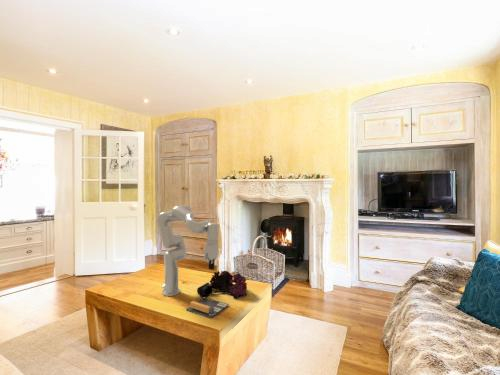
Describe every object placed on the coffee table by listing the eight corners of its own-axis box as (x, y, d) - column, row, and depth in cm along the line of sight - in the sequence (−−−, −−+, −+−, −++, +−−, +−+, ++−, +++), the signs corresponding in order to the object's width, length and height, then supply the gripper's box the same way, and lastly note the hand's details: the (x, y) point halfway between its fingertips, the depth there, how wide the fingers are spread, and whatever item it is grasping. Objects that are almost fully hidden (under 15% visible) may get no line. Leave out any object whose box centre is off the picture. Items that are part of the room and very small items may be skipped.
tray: (186, 310, 164) (186, 307, 164) (204, 299, 180) (204, 297, 180) (212, 318, 154) (212, 315, 154) (228, 306, 170) (228, 303, 170)
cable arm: (215, 312, 158) (215, 307, 158) (211, 314, 155) (211, 309, 155) (193, 305, 166) (193, 300, 166) (189, 307, 164) (189, 302, 164)
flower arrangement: (204, 291, 192) (205, 270, 192) (219, 283, 209) (220, 264, 210) (240, 300, 177) (241, 279, 177) (253, 291, 195) (254, 271, 195)
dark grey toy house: (205, 290, 194) (205, 281, 194) (213, 292, 190) (213, 283, 190) (197, 295, 185) (196, 286, 185) (204, 297, 182) (204, 288, 181)
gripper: (214, 238, 178) (213, 264, 179) (200, 243, 165) (199, 271, 166) (223, 240, 175) (222, 267, 176) (210, 245, 162) (209, 273, 162)
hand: (211, 269), depth 171 cm, fingers closed
